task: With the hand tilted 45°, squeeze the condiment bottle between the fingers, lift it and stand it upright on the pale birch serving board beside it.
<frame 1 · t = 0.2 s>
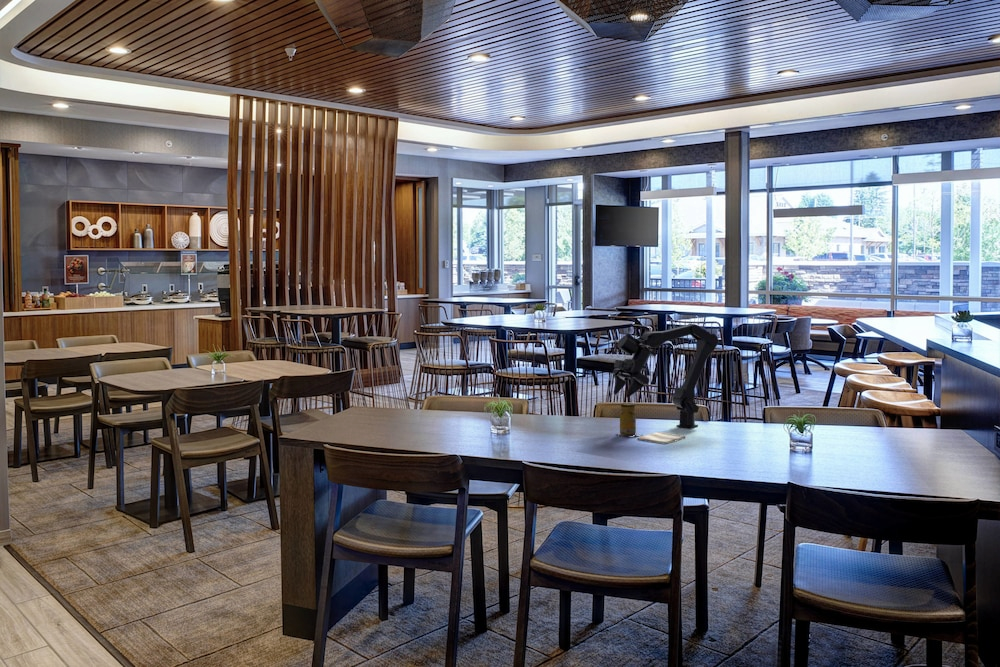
hand: (620, 395, 309), 14 cm above the table, tool tilted 35°, fingers open, 9 cm apart
condiment: (629, 435, 304), on the table
serving board: (661, 438, 297), on the table
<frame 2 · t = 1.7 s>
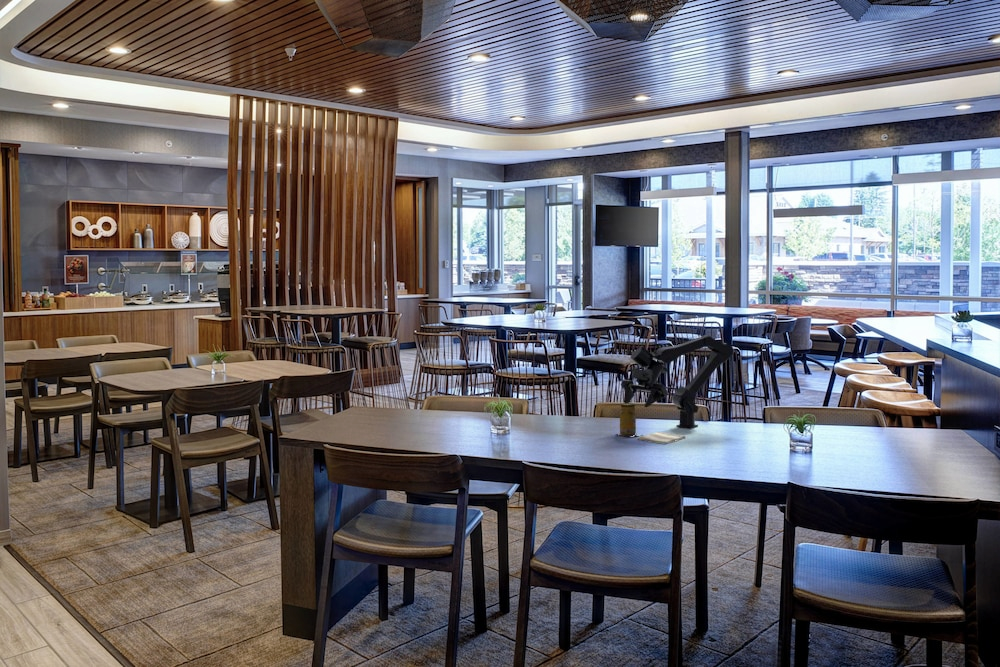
hand: (635, 405, 307), 11 cm above the table, tool tilted 45°, fingers open, 9 cm apart
nothing on the table moved.
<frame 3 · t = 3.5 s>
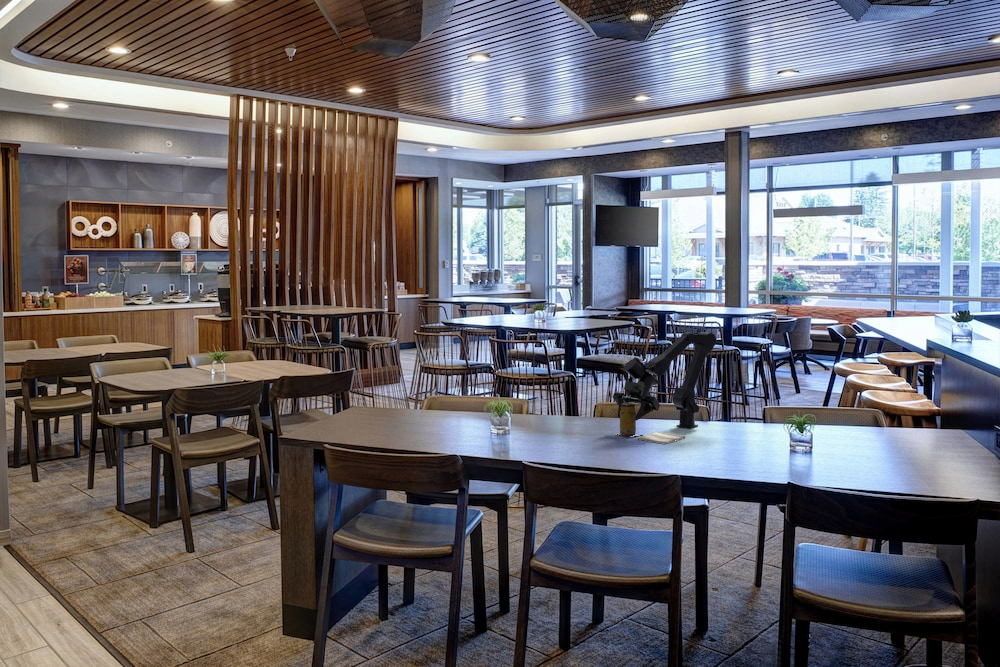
hand: (627, 418, 303), 7 cm above the table, tool tilted 45°, fingers open, 7 cm apart
condiment: (629, 435, 304), on the table, touching gripper
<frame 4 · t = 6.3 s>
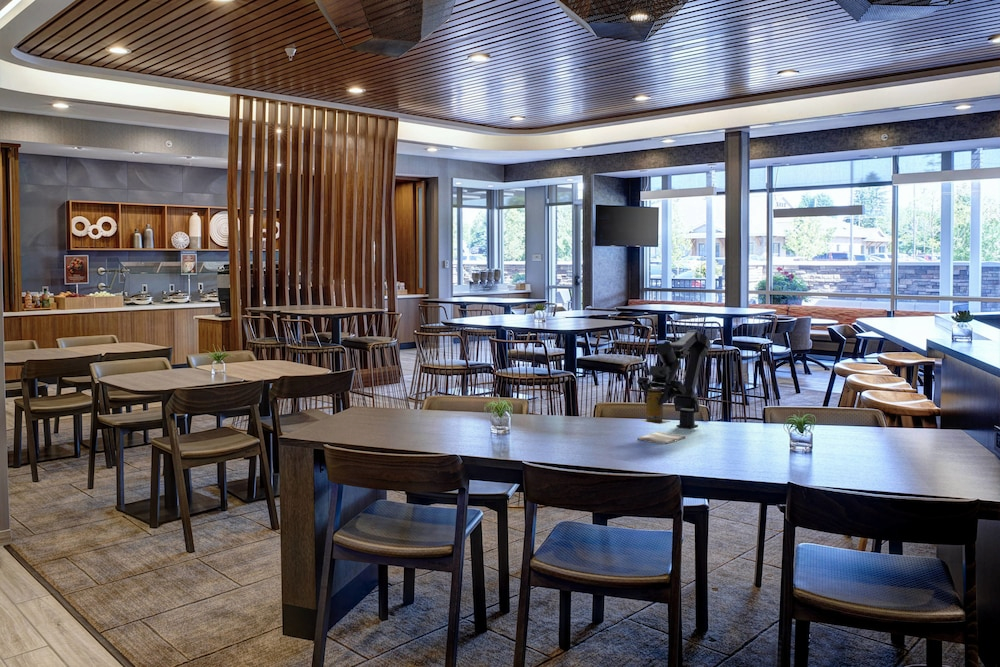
hand: (652, 403, 296), 13 cm above the table, tool tilted 45°, fingers closed on condiment, 6 cm apart
condiment: (655, 422, 297), point 6 cm above the table, touching gripper
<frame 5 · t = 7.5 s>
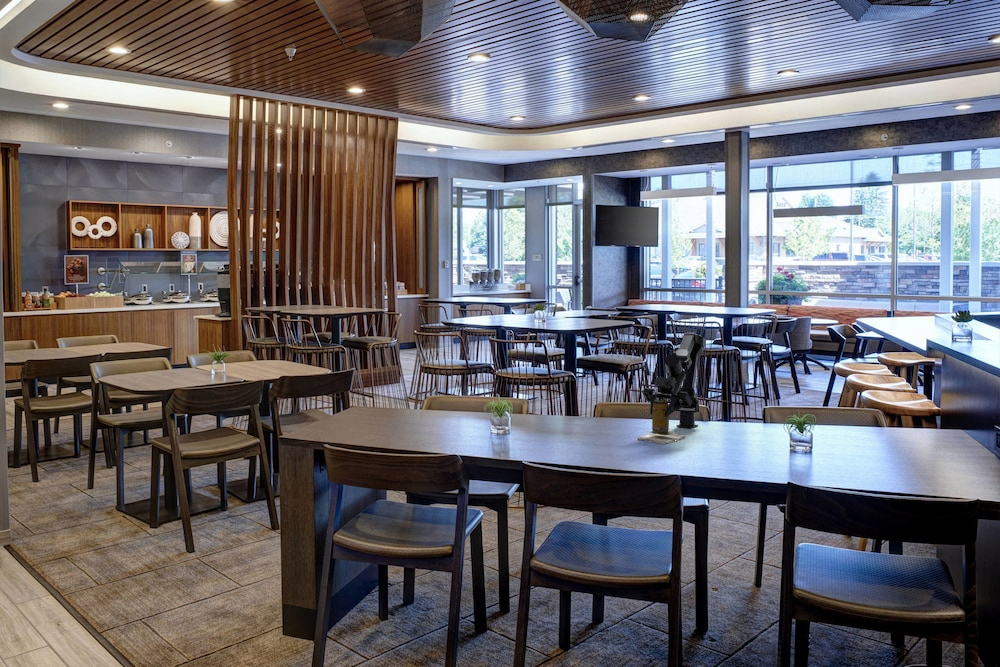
hand: (658, 415, 294), 9 cm above the table, tool tilted 45°, fingers closed on condiment, 6 cm apart
condiment: (662, 433, 296), point 2 cm above the table, touching gripper
when the fingers open (8 cm above the table, at t = 8.6 s): condiment stays where it is, resting on serving board.
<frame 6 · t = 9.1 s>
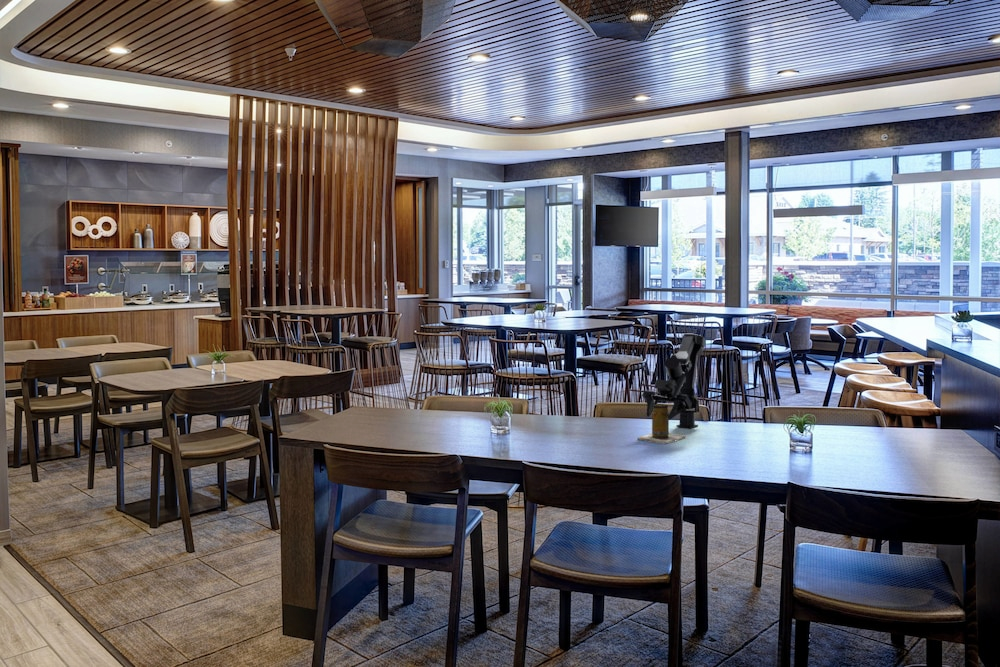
hand: (658, 417, 294), 8 cm above the table, tool tilted 45°, fingers open, 9 cm apart
condiment: (662, 437, 296), point 1 cm above the table, touching serving board
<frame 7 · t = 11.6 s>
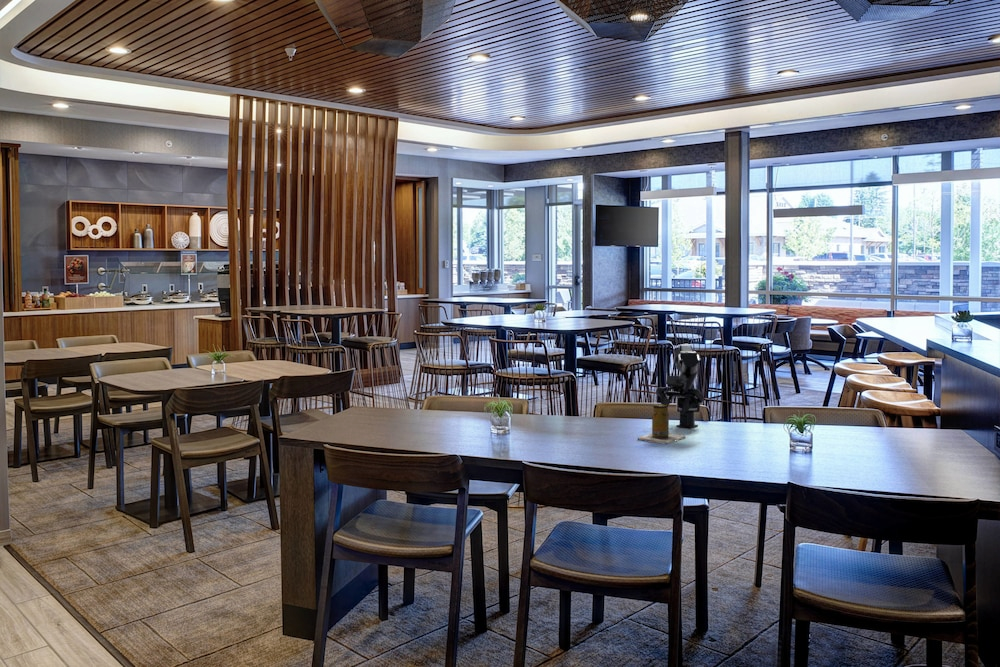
hand: (671, 412, 302), 9 cm above the table, tool tilted 40°, fingers open, 9 cm apart
nothing on the table moved.
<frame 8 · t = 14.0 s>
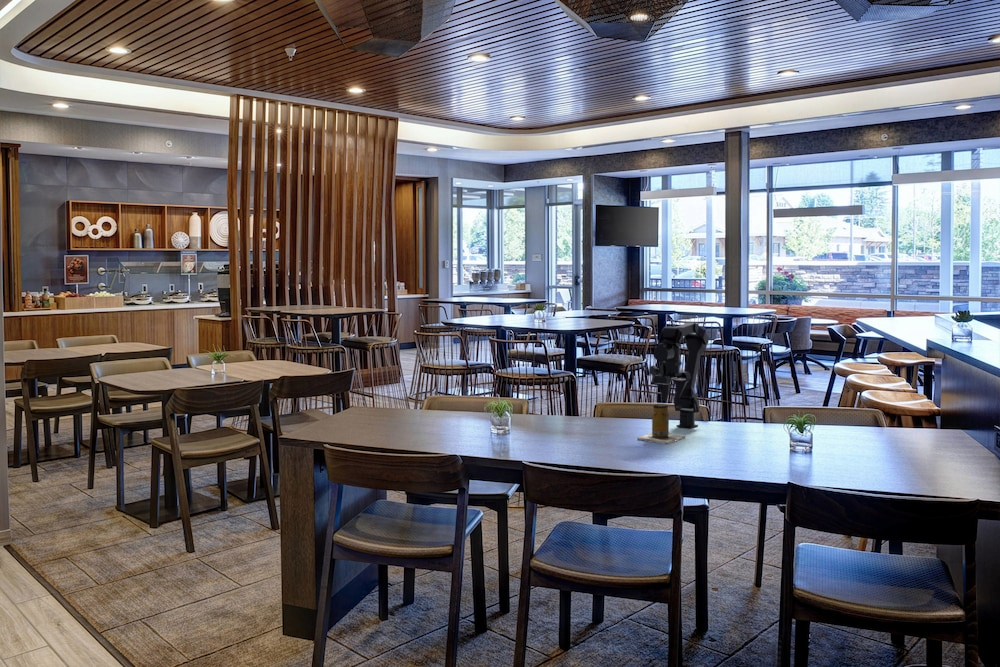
hand: (671, 399, 306), 13 cm above the table, tool pointing down, fingers open, 9 cm apart
nothing on the table moved.
at the end: condiment inside the target area on the serving board (0.7 cm from its centre), point 0.6 cm above the serving board's base; condiment tilted 0°; the gripper is holding nothing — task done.
